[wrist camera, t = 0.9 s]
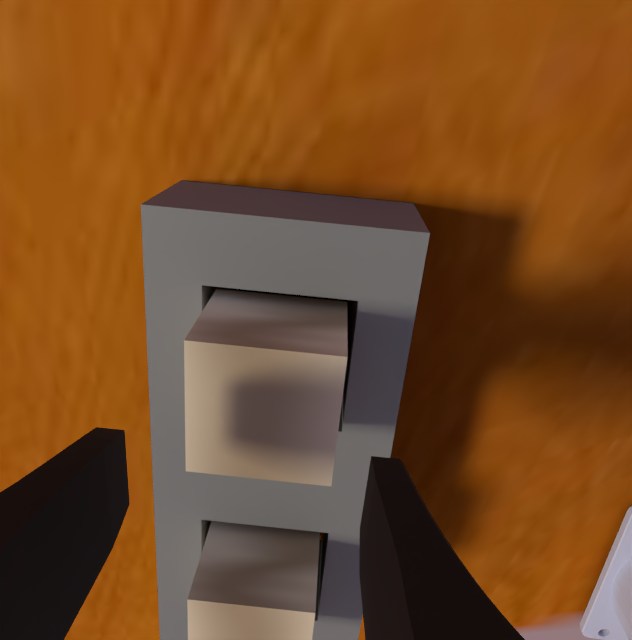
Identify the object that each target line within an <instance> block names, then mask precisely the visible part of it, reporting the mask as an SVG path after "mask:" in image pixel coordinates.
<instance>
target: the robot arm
mask: <svg viewBox="0 0 632 640" xmlns="http://www.w3.org/2000/svg"><path fill="white" fill-rule="evenodd" d="M128 506H129V491H128V477H127V462H126V447H125V433H124V430H116V429H107V428H95V429H93V430H92V431H90V432H89V433H87V434H86V435H84V436H83V437H81V438H80V439H79V440H77V441H76V442H74V443H73V444H71V445H70V446H69V447H67V448H66V449H64V450H63V451H61V452H60V453H59V454H57V455H56V456H54V457H53V458H51V459H50V460H49V461H47V462H46V463H44V464H43V465H41V466H40V467H38V468H37V469H35V470H34V471H32V472H31V473H29V474H28V475H27V476H25V477H24V478H22V479H21V480H19V481H18V482H16V483H15V484H13V485H12V486H10V487H8V488H7V489H5V490H4V491H2V492H0V640H64V638H65V636H66V635H67V633H68V631H69V629H70V627H71V625H72V623H73V622H74V620H75V618H76V616H77V614H78V612H79V610H80V608H81V607H82V605H83V603H84V601H85V599H86V597H87V595H88V594H89V592H90V590H91V588H92V586H93V584H94V582H95V580H96V579H97V577H98V575H99V573H100V571H101V569H102V567H103V565H104V563H105V561H106V560H107V558H108V556H109V554H110V552H111V550H112V548H113V545H114V543H115V540H116V538H117V535H118V533H119V530H120V528H121V525H122V522H123V520H124V517H125V514H126V512H127V509H128ZM359 576H360V587H361V598H362V608H363V618H364V628H365V639H366V640H525V639H524V638H523V637H522V636H521V635H520V634H519V633H518V632H517V631H516V630H515V628H514V627H513V626H512V625H511V624H510V623H509V622H508V620H507V619H506V618H505V617H504V616H503V615H502V614H501V612H500V611H499V610H498V609H497V607H496V606H495V605H494V604H493V603H492V601H491V600H490V599H489V598H488V597H487V595H486V594H485V593H484V591H483V590H482V589H481V588H480V586H479V585H478V584H477V582H476V581H475V580H474V578H473V577H472V576H471V574H470V573H469V572H468V570H467V569H466V567H465V566H464V565H463V563H462V562H461V560H460V559H459V558H458V556H457V555H456V553H455V552H454V550H453V549H452V547H451V546H450V544H449V543H448V541H447V540H446V538H445V537H444V535H443V533H442V532H441V530H440V529H439V527H438V525H437V524H436V522H435V521H434V519H433V517H432V516H431V514H430V512H429V511H428V509H427V507H426V506H425V504H424V502H423V500H422V498H421V497H420V495H419V493H418V491H417V489H416V487H415V486H414V484H413V482H412V480H411V478H410V476H409V474H408V472H407V470H406V468H405V466H404V464H403V462H402V461H401V460H400V459H395V458H386V457H376V456H371V461H370V467H369V474H368V480H367V486H366V492H365V499H364V505H363V511H362V518H361V524H360V549H359ZM580 629H581V631H582V633H583V635H584V636H586V637H588V638H595V639H604V640H632V506H631V507H630V508H629V509H628V510H627V512H626V515H625V517H624V519H623V522H622V524H621V526H620V529H619V531H618V534H617V536H616V538H615V541H614V543H613V546H612V548H611V550H610V553H609V555H608V558H607V560H606V562H605V565H604V567H603V570H602V572H601V574H600V577H599V579H598V582H597V584H596V586H595V589H594V591H593V593H592V596H591V598H590V601H589V603H588V605H587V608H586V610H585V613H584V615H583V617H582V620H581V622H580Z"/></svg>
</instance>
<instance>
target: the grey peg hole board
mask: <svg viewBox="0 0 632 640" xmlns="http://www.w3.org/2000/svg"><path fill="white" fill-rule="evenodd" d="M141 219H142V241H143V264H144V287H145V309H146V332H147V355H148V377H149V400H150V423H151V445H152V468H153V491H154V514H155V536H156V559H157V582H158V604H159V627H160V640H188V611H187V599H188V596H189V592H190V589H191V586H192V583H193V579H194V576H195V573H196V570H197V566H198V563H199V560H200V557H201V553H202V550H203V547H204V544H205V540H206V537H207V534H208V531H209V527H210V524H211V521H219V522H228V523H238V524H247V525H257V526H266V527H276V528H285V529H295V530H304V531H313V532H323V535H322V542H319V559H318V576H317V594H316V611H315V620H314V628H313V636H312V640H358V637H359V631H360V626H361V620H362V614H363V608H362V598H361V587H360V576H359V549H360V524H361V518H362V511H363V505H364V499H365V492H366V486H367V480H368V474H369V467H370V461H371V456H376V457H386V458H390V456H391V451H392V445H393V440H394V434H395V428H396V423H397V417H398V411H399V406H400V400H401V394H402V389H403V383H404V377H405V372H406V366H407V361H408V355H409V349H410V344H411V338H412V332H413V327H414V321H415V315H416V310H417V304H418V298H419V293H420V287H421V282H422V276H423V270H424V265H425V259H426V253H427V248H428V242H429V236H430V232H429V230H428V228H427V227H426V225H425V223H424V221H423V219H422V218H421V216H420V214H419V212H418V210H417V209H416V207H415V205H414V203H406V202H396V201H385V200H375V199H365V198H355V197H345V196H335V195H324V194H314V193H304V192H294V191H284V190H274V189H263V188H253V187H243V186H233V185H223V184H213V183H202V182H192V181H182V180H181V181H180V182H178V183H176V184H174V185H173V186H171V187H169V188H168V189H166V190H164V191H163V192H161V193H159V194H158V195H156V196H154V197H153V198H151V199H149V200H148V201H146V202H144V203H142V204H141ZM228 288H234V289H244V290H254V291H264V292H274V293H284V294H294V295H303V296H313V297H323V298H333V299H343V300H351V308H350V316H349V324H348V332H347V340H348V358H347V366H346V374H345V381H344V389H343V397H342V405H341V413H340V421H339V429H338V437H337V445H336V453H335V461H334V469H333V477H332V485H331V486H322V485H312V484H303V483H293V482H283V481H274V480H264V479H255V478H245V477H236V476H226V475H217V474H207V473H197V472H188V471H186V457H185V380H184V340H185V338H186V336H187V335H188V333H189V332H190V330H191V328H192V327H193V325H194V324H195V322H196V320H197V319H198V317H199V316H200V314H201V313H202V311H203V309H204V308H205V306H206V305H207V303H208V301H209V300H210V298H211V297H212V295H213V293H214V292H215V290H216V289H224V290H228Z"/></svg>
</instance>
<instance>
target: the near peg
mask: <svg viewBox="0 0 632 640" xmlns="http://www.w3.org/2000/svg"><path fill="white" fill-rule="evenodd" d="M347 358H348V340H347V302H343V301H333V300H324V299H314V298H304V297H294V296H284V295H274V294H264V293H254V292H244V291H234V290H224V289H216V290H215V292H214V293H213V295H212V297H211V298H210V300H209V301H208V303H207V305H206V306H205V308H204V309H203V311H202V313H201V314H200V316H199V317H198V319H197V320H196V322H195V324H194V325H193V327H192V328H191V330H190V332H189V333H188V335H187V336H186V338H185V340H184V380H185V457H186V471H188V472H197V473H207V474H217V475H226V476H236V477H245V478H255V479H264V480H274V481H283V482H293V483H303V484H312V485H322V486H331V485H332V477H333V469H334V461H335V453H336V445H337V437H338V429H339V421H340V413H341V405H342V397H343V389H344V381H345V374H346V366H347Z"/></svg>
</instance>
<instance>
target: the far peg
mask: <svg viewBox="0 0 632 640" xmlns="http://www.w3.org/2000/svg"><path fill="white" fill-rule="evenodd" d="M319 542H320V532H313V531H304V530H295V529H285V528H276V527H266V526H257V525H247V524H238V523H228V522H219V521H211V524H210V527H209V531H208V534H207V537H206V540H205V544H204V547H203V550H202V553H201V557H200V560H199V563H198V566H197V570H196V573H195V576H194V579H193V583H192V586H191V589H190V592H189V596H188V599H187V611H188V640H312V636H313V628H314V620H315V611H316V594H317V576H318V559H319Z"/></svg>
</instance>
